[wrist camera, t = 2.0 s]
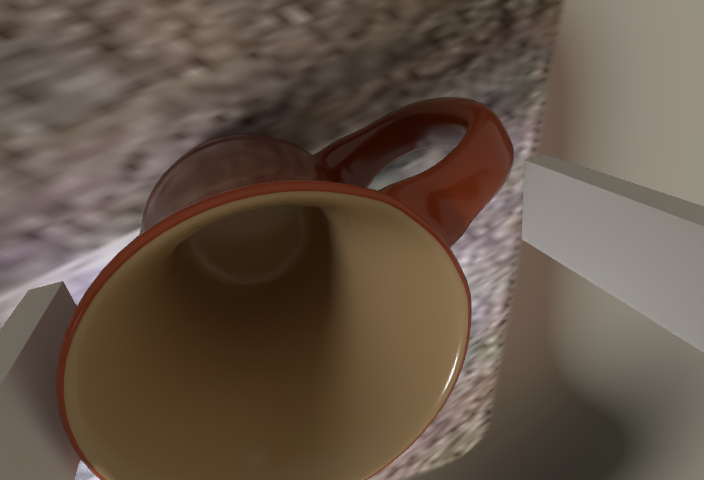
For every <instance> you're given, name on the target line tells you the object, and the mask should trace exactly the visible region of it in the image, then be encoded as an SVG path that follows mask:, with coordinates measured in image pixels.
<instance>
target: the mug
mask: <svg viewBox="0 0 704 480" xmlns="http://www.w3.org/2000/svg"><path fill="white" fill-rule="evenodd" d="M431 147H451V148H454V149H453V150H452V151H451V152H450V153H449V154H448V155H447V156H446V157H445V158H444V159H443V160H441V161H440V162H439V163H437V164H436V165H435V166H433V167H431V168H430V169H428V170H426V171H424V172H422V173H420V174H418V175H415V176H413V177H410V178H407V179H405V180H402V181H399V182H396V183H394V184H391V185H389V186H387V187H384V188H383V189H381V190H379V191H376V190H372V189H368V186H369V185H370V184H371V182H372V181H373V180H374V179H375V178H376V176H377V175H378V174H379V173H380V172H381V171H382V170H383V169H384V168H386V167H387V166H388V165H389V164H391V163H392V162H394V161H395V160H397V159H399V158H400V157H402V156H404V155H406V154H409V153H411V152H414V151H417V150H420V149H425V148H431ZM513 159H514V150H513V145H512V143H511V140H510V138H509V135H508V133H507V131H506V129H505V127H504V126H503V124H502V122H501V121H500V119H499V118H498V116H497V115H496V114H495V113H494V112H493V111H492V110H491V109H490V108H488V107H487V106H486V105H484V104H481V103H479V102H476V101H474V100H470V99H465V98H456V97H443V98H434V99H428V100H423V101H419V102H415V103H412V104H409V105H406V106H404V107H401V108H399V109H397V110H394V111H392V112H390V113H388V114H386V115H385V116H383V117H381V118H379V119H378V120H376V121H374V122H373V123H371V124H369V125H367V126H366V127H364V128H362V129H360V130H358V131H356V132H354V133H352V134H349V135H347V136H345V137H343V138H341V139H339V140H337V141H335V142H333V143H331V144H330V145H328V146H327V147H325V148H324V149H323V150H321V151H320V152H318V153H317V154H314V155H312V154H310V153H309V152H308V151H306V150H305V149H304V148H302V147H300V146H298V145H297V144H294V143H291V142H288V141H285V140H282V139H278V138H274V137H270V136H263V135H254V134H239V135H230V136H225V137H220V138H217V139H214V140H210V141H208V142H206V143H203V144H201V145H199V146H197V147H195V148H194V149H192V150H190V151H189V152H187V153H186V154H184V155H183V156H182V157H181V158H179V159H178V160H177V161H176V162H175V163H174V164H173V165H172V166H171V167H170V168H169V169H168V170H167V171H166V172H165V173H164V174H163V175H162V177H161V178H160V179H159V181H158V182H157V183H156V185H155V187H154V188H153V190H152V192H151V194H150V196H149V198H148V201H147V203H146V207H145V210H144V214H143V219H142V227H141V230H140V234H139V236H137V237H136V238H135V239H134V240H133V241H132V242H130V243H129V244H128V245H127V246H126V247H125V248H124V249H122V250H121V251H120V252H119V253H118V254H117V255H116V256H115V257H114V258H113V259H112V260H111V261H110V262H109V263H108V264H107V266H106V267H105V268H104V269H103V270H102V271H101V272H100V274H99V275H98V276H97V278H96V279H95V280H94V281H93V283H92V284H91V285H90V287H89V288H88V289H87V291H86V292H85V294H84V296H83V297H82V299H81V301H80V302H79V304H78V306H77V308H76V309H75V311H74V313H73V315H72V317H71V320H70V322H69V324H68V327H67V329H66V331H65V334H64V338H63V341H62V345H61V348H60V352H59V358H58V365H57V372H56V395H57V402H58V409H59V414H60V417H61V420H62V424H63V427H64V430H65V432H66V434H67V436H68V438H69V441H70V443H71V445H72V447H73V448H74V450H75V451H76V453H77V454H78V456H79V457H80V459H81V460H82V461H83V462H84V464H85V465H86V466H87V467H88V468H89V469H90V470H91V472H92V473H93V474H95V475H96V476H97V477H98V478H99V479H100V480H367V479H369V478H371V477H372V476H374V475H375V474H377V473H378V472H380V471H381V470H382V469H384V468H385V467H386V466H388V465H389V464H391V463H392V462H393V461H394V460H395V459H397V458H398V457H399V456H400V455H401V454H403V453H404V452H405V451H406V450H407V449H408V448H409V447H410V446H411V445H412V444H413V443H414V442H415V441H416V440H417V439H418V438H419V437H420V436H421V435H422V434H423V433H424V431H425V430H426V429H427V428H428V427H429V425H430V424H431V423H432V422H433V420H434V419H435V418H436V416H437V415H438V413H439V412H440V411H441V409H442V408H443V406H444V404H445V403H446V401H447V399H448V398H449V396H450V394H451V392H452V390H453V388H454V386H455V384H456V382H457V380H458V377H459V375H460V372H461V370H462V367H463V363H464V360H465V357H466V353H467V348H468V343H469V337H470V328H471V294H470V290H469V286H468V283H467V280H466V278H465V275H464V273H463V271H462V269H461V267H460V265H459V263H458V261H457V259H456V257H455V255H454V254H453V252H452V250H451V249H450V248H451V246H452V245H453V244H454V243H455V242H456V241H457V240H458V239H459V238H460V237H461V236H462V235H463V234H464V232H465V231H466V229H467V228H468V226H469V225H470V223H471V222H472V221H473V219H474V218H475V217H476V216H477V214H478V213H479V212H480V211H481V210H482V209H483V208H484V207H485V206H486V205H487V204H488V203H489V202H490V201H491V199H492V198H493V197H494V196H495V195H496V194H497V193H498V191H499V190H500V189H501V187H502V186H503V185H504V183H505V181H506V180H507V178H508V176H509V174H510V171H511V168H512V165H513Z"/></svg>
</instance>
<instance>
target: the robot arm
mask: <svg viewBox="0 0 704 480" xmlns="http://www.w3.org/2000/svg"><path fill="white" fill-rule="evenodd" d="M522 240H524V241H526V242H527V243H529V244H531V245H532V246H534V247H535V248H537V249H539V250H540V251H542V252H543V253H545V254H546V255H548V256H550V257H551V258H553V259H555V260H556V261H558V262H559V263H561V264H563V265H564V266H566V267H567V268H569V269H571V270H572V271H574V272H575V273H577V274H579V275H580V276H582V277H583V278H585V279H587V280H588V281H590V282H591V283H593V284H595V285H596V286H598V287H599V288H601V289H603V290H604V291H606V292H607V293H609V294H611V295H612V296H614V297H616V298H617V299H619V300H620V301H622V302H624V303H625V304H627V305H628V306H630V307H631V308H633V309H635V310H636V311H638V312H639V313H641V314H643V315H644V316H646V317H648V318H649V319H651V320H652V321H654V322H655V323H657V324H659V325H660V326H662V327H663V328H665V329H667V330H668V331H670V332H671V333H673V334H675V335H676V336H678V337H679V338H681V339H683V340H684V341H686V342H688V343H689V344H691V345H693V346H694V347H696V348H697V349H699V350H700V351H702V352H704V207H703V206H700V205H697V204H694V203H691V202H688V201H685V200H682V199H679V198H676V197H673V196H670V195H667V194H664V193H661V192H658V191H655V190H652V189H649V188H646V187H643V186H639V185H637V184H634V183H631V182H628V181H625V180H622V179H618V178H615V177H613V176H609V175H606V174H603V173H600V172H597V171H594V170H591V169H588V168H585V167H582V166H579V165H576V164H573V163H570V162H567V161H564V160H561V159H558V158H555V157H552V156H549V155H542V156H538V157H535V158H531V159H527V160H525V166H524V194H523V222H522ZM76 308H77V306H76V304H75V302H74V300H73V299H72V297H71V295H70V293H69V291H68V289H67V288H66V286H65V284H64V282H63V281H62V282H58V283H54V284H51V285H47V286H43V287H39V288H35V289H31V290H29V291H28V292H27V294H26V295H25V296H24V298H23V299H22V301H21V302H20V303H19V305H18V306H17V308H16V309H15V310H14V312H13V313H12V314H11V316H10V317H9V319H8V320H7V321H6V323H5V324H4V326H3V327H2V328H1V330H0V480H74V478H75V475H76V472H77V468H78V465H79V462H80V457H79V456H78V454H77V453H76V451H75V450H74V448H73V447H72V445H71V443H70V441H69V438H68V436H67V434H66V432H65V430H64V427H63V424H62V420H61V417H60V414H59V409H58V402H57V395H56V372H57V365H58V358H59V352H60V348H61V345H62V341H63V338H64V334H65V331H66V329H67V327H68V324H69V322H70V320H71V317H72V315H73V313H74V311H75V309H76Z"/></svg>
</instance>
